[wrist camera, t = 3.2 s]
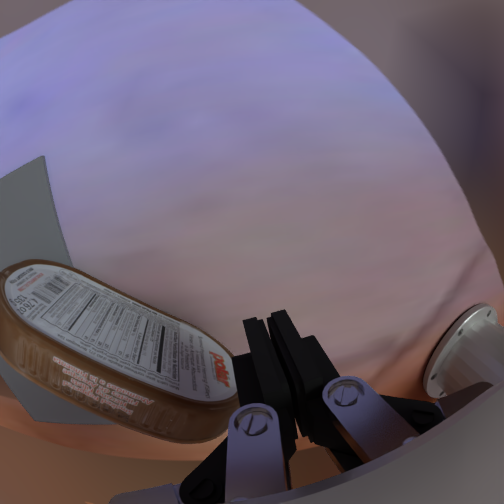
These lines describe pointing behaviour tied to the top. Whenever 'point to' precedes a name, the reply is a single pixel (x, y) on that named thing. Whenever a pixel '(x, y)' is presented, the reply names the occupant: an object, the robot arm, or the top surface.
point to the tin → (114, 353)
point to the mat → (34, 247)
